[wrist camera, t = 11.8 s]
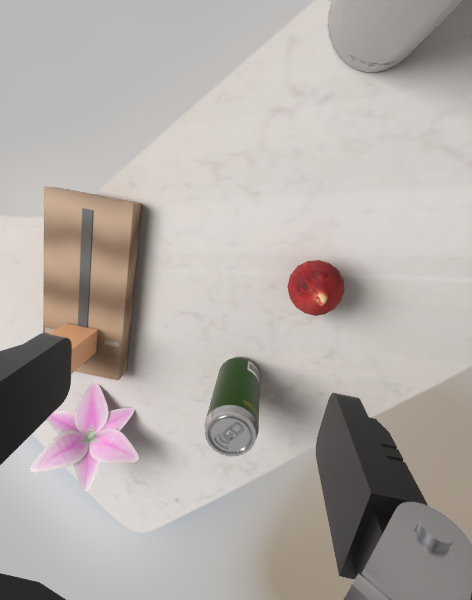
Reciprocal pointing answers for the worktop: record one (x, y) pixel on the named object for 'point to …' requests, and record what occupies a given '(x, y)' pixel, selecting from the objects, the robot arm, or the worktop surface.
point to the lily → (87, 438)
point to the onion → (315, 287)
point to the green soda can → (234, 408)
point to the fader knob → (78, 342)
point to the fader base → (91, 271)
